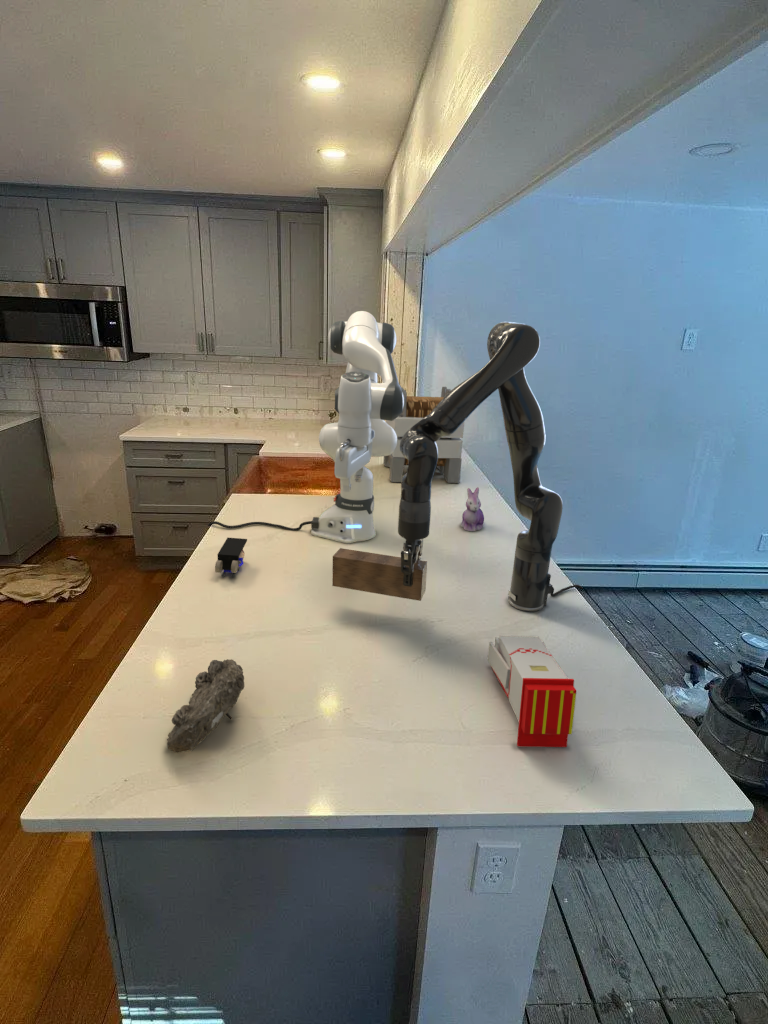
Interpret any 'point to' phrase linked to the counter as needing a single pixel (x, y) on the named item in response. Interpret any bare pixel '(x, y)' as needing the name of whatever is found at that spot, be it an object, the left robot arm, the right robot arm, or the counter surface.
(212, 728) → the fossil
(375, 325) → the left robot arm
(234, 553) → the figurine character
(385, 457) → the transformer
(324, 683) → the counter surface
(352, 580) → the bar
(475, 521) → the figurine
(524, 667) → the toy
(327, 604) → the counter surface
